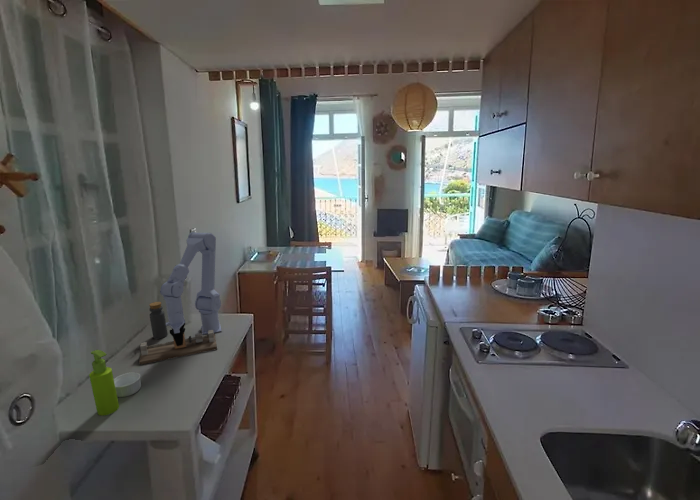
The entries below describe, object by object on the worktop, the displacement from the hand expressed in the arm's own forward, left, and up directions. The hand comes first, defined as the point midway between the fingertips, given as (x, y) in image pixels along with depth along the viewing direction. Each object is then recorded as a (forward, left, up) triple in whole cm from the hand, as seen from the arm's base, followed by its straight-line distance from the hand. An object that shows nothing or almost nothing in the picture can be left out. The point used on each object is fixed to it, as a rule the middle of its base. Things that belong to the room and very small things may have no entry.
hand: (180, 342), depth 163 cm
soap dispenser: (+34, -20, -3) cm, 40 cm away
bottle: (-18, -8, -3) cm, 20 cm away
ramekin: (+24, -16, -3) cm, 29 cm away
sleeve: (0, 0, -1) cm, 1 cm away
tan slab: (0, 0, -3) cm, 3 cm away
